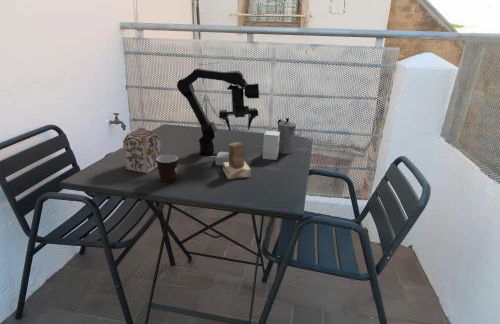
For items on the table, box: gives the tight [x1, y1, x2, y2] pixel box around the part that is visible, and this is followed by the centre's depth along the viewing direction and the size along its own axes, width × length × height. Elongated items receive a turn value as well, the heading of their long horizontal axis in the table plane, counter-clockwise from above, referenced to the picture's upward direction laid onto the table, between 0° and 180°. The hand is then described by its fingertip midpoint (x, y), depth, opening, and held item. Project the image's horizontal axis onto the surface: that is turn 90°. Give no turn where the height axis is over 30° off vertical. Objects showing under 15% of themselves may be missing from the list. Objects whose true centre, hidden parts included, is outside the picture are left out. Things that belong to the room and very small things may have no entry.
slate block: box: [215, 151, 229, 166], centre depth 159 cm, size 8×8×4 cm
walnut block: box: [227, 141, 245, 169], centre depth 145 cm, size 4×5×10 cm
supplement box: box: [262, 130, 280, 161], centre depth 166 cm, size 7×7×13 cm
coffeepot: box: [277, 117, 297, 155], centre depth 174 cm, size 15×9×18 cm, turn 26°
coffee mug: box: [156, 154, 179, 185], centre depth 138 cm, size 12×9×10 cm
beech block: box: [222, 160, 252, 180], centre depth 148 cm, size 10×10×4 cm
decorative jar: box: [122, 127, 163, 174], centre depth 148 cm, size 12×12×18 cm
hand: (239, 130), depth 165 cm, fingers open, 9 cm apart
